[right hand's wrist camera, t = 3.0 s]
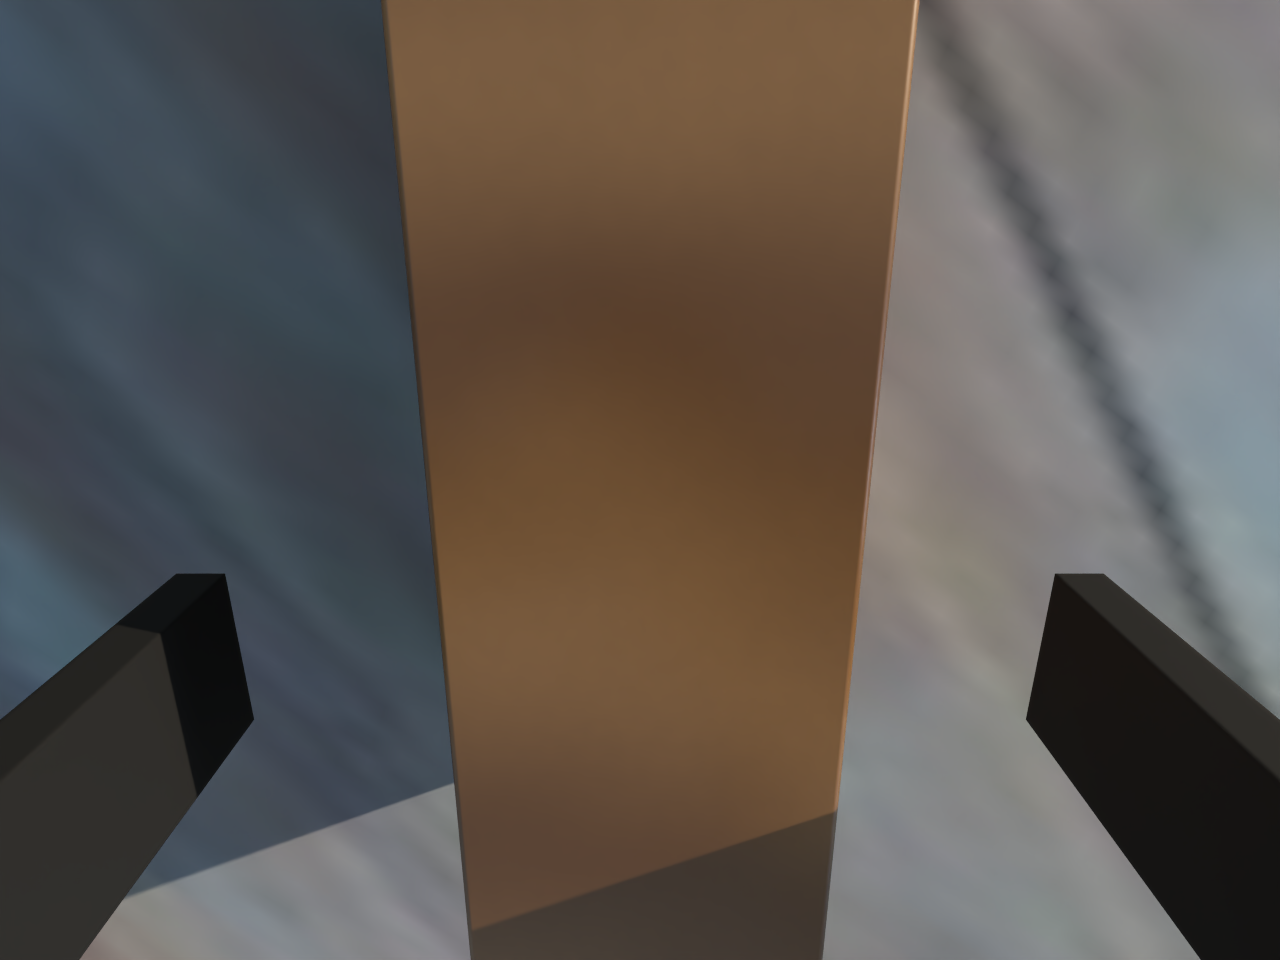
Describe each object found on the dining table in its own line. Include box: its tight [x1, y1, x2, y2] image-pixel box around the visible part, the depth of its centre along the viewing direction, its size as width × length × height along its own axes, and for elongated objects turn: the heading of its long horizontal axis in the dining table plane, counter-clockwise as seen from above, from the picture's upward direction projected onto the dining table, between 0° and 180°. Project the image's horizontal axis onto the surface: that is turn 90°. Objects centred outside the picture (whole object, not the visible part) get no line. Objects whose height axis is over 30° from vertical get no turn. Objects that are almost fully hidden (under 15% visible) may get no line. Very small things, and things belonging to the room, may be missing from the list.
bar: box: [381, 0, 919, 960], centre depth 11 cm, size 25×5×8 cm, turn 0°
